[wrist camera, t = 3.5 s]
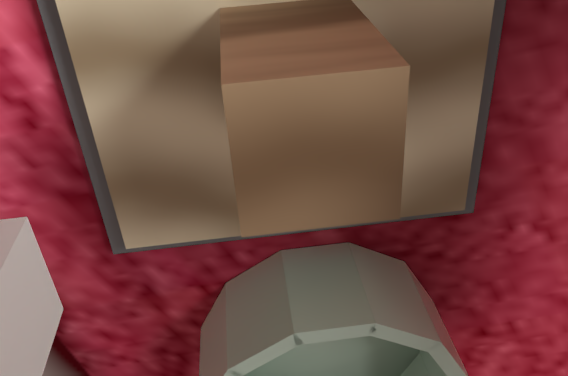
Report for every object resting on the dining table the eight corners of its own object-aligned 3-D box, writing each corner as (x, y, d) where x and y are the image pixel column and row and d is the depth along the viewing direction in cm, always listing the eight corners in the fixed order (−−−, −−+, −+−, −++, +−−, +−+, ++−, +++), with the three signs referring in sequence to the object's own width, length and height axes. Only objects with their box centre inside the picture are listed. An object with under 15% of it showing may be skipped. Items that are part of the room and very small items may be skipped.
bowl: (186, 260, 29) (180, 347, 24) (439, 231, 30) (485, 309, 25) (219, 418, 37) (220, 509, 32) (420, 391, 37) (452, 476, 32)
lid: (17, -167, 18) (-130, -179, 10) (510, -202, 19) (707, -238, 11) (128, 236, 27) (94, 386, 19) (457, 199, 28) (546, 328, 20)
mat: (-18, -200, 18) (-25, -202, 17) (534, -238, 19) (543, -240, 18) (115, 247, 28) (113, 254, 28) (469, 206, 29) (473, 212, 29)
